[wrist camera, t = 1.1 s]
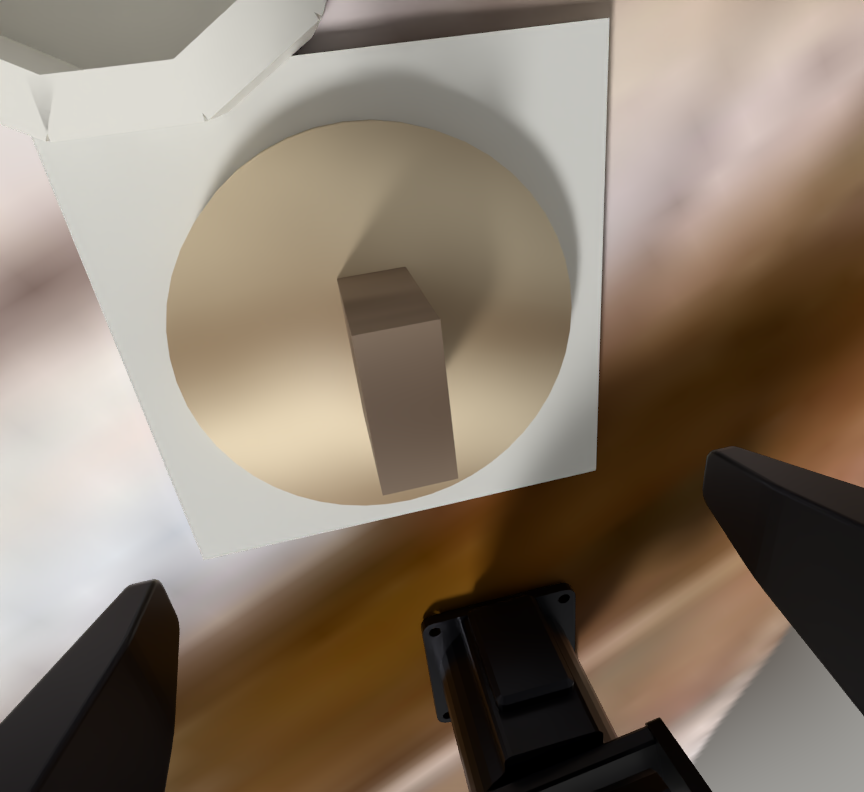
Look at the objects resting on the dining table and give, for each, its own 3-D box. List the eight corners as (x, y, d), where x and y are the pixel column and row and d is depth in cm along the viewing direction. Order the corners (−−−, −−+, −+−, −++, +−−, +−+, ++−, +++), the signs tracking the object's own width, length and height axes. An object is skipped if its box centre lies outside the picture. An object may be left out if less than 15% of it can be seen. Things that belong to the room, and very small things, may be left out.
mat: (588, 461, 22) (596, 470, 21) (205, 547, 20) (203, 560, 20) (598, 20, 15) (609, 17, 15) (23, 90, 13) (12, 89, 13)
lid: (556, 444, 20) (632, 544, 16) (237, 515, 19) (222, 648, 15) (552, 91, 15) (664, 94, 11) (108, 153, 14) (22, 186, 9)
